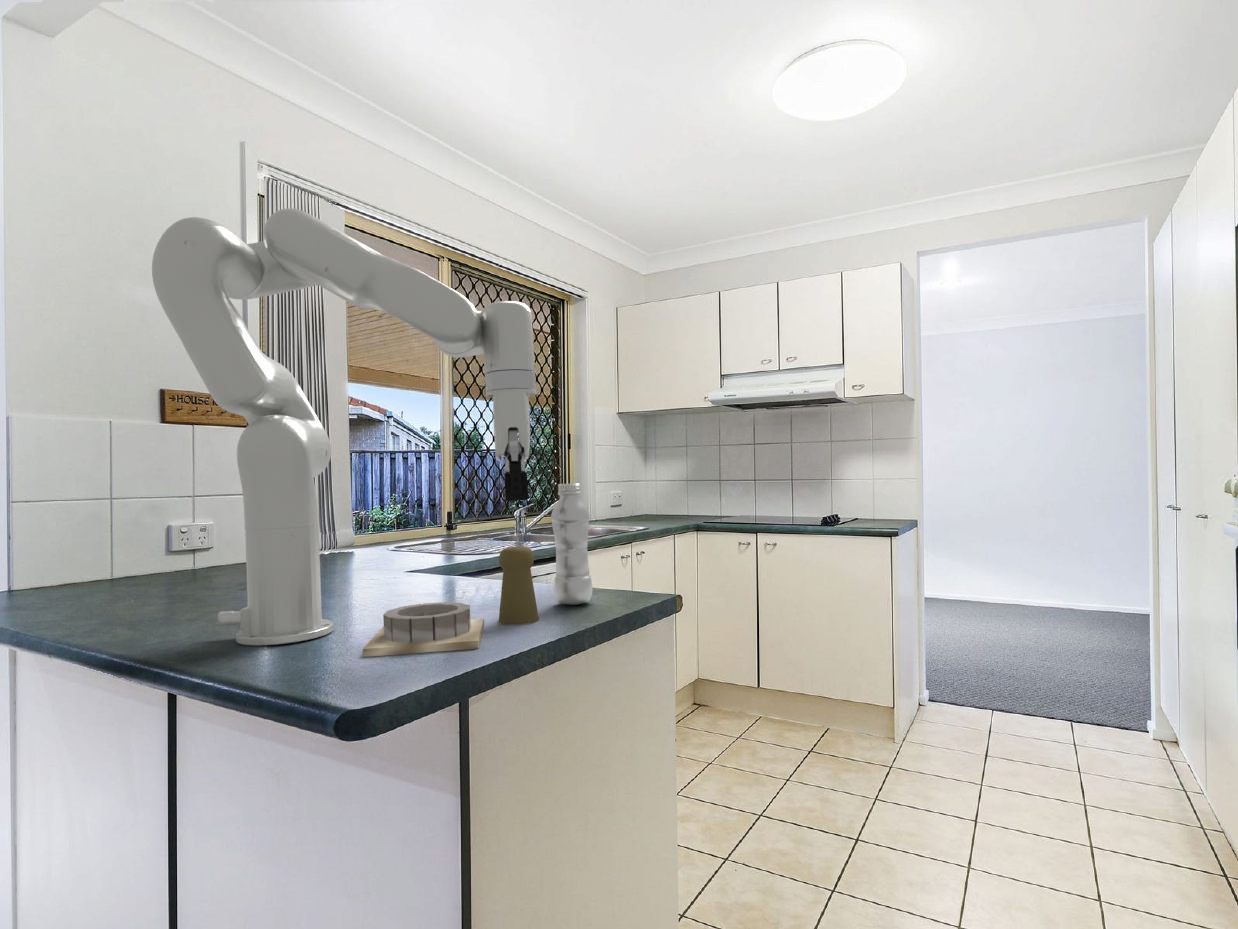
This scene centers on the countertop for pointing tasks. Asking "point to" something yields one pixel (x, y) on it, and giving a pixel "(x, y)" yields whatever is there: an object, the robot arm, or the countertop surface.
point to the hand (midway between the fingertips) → (517, 499)
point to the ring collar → (426, 630)
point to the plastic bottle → (571, 547)
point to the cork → (517, 587)
